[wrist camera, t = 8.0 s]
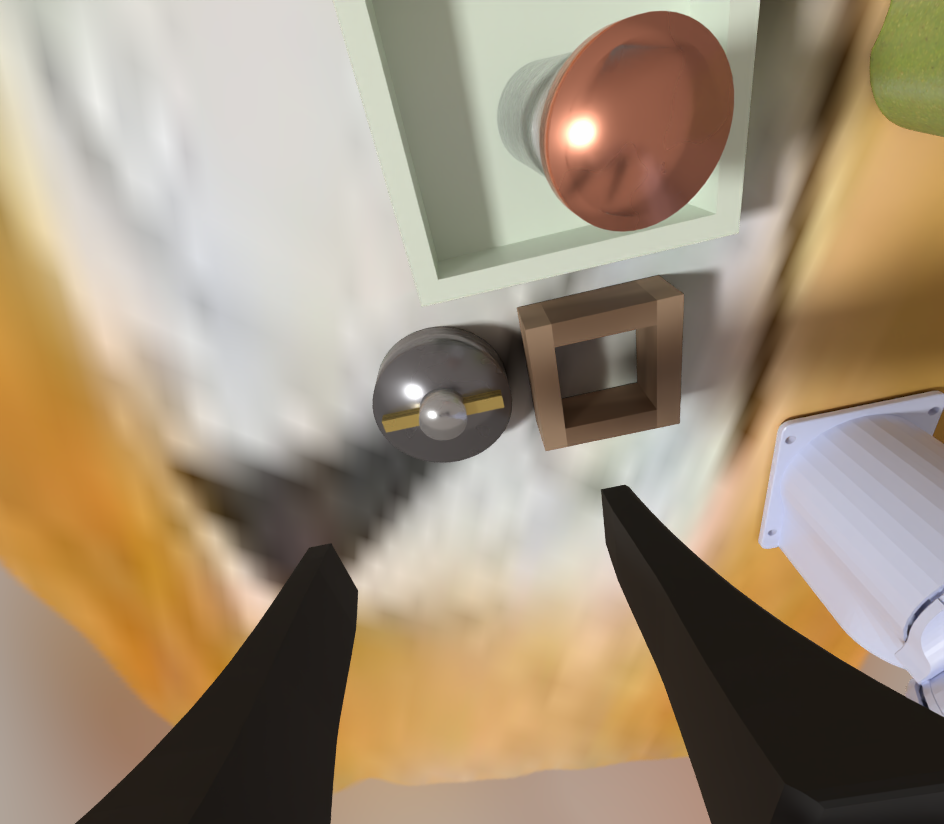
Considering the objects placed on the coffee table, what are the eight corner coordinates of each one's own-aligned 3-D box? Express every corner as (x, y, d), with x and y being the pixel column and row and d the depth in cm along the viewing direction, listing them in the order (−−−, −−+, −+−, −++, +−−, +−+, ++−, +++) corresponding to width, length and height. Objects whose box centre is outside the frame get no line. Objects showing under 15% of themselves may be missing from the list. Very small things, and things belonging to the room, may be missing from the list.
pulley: (516, 425, 23) (525, 461, 21) (399, 450, 24) (395, 488, 21) (493, 313, 20) (500, 340, 18) (358, 344, 20) (347, 374, 18)
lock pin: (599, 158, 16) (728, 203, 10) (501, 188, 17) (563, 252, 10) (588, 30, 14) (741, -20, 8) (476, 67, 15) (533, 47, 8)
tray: (697, 216, 18) (738, 233, 16) (424, 280, 19) (421, 307, 16) (716, -220, 12) (788, -306, 10) (317, -100, 13) (288, -150, 10)
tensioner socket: (658, 395, 23) (679, 423, 21) (536, 421, 23) (545, 451, 21) (658, 275, 19) (683, 294, 17) (517, 307, 20) (525, 330, 18)
